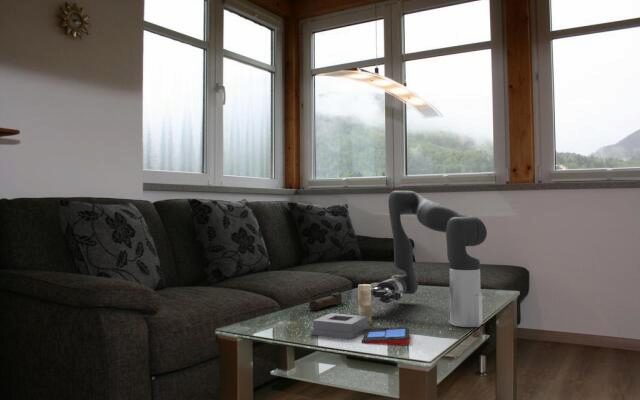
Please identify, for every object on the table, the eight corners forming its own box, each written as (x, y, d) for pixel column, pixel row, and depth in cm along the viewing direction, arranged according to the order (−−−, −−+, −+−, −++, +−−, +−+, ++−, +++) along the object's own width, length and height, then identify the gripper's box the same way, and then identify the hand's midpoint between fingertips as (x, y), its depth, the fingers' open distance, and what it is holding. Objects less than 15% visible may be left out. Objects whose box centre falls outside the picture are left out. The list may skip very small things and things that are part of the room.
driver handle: (373, 322, 166) (372, 284, 166) (368, 325, 163) (368, 286, 163) (361, 321, 168) (361, 283, 168) (356, 323, 164) (356, 285, 165)
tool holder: (369, 329, 157) (369, 315, 157) (352, 339, 145) (352, 324, 145) (330, 325, 162) (330, 312, 162) (311, 334, 151) (310, 320, 151)
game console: (366, 332, 154) (366, 325, 155) (409, 334, 152) (409, 326, 152) (361, 345, 140) (361, 336, 140) (409, 346, 138) (409, 338, 138)
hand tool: (317, 312, 185) (317, 299, 186) (308, 310, 188) (308, 297, 188) (347, 304, 200) (347, 292, 201) (339, 303, 203) (339, 291, 203)
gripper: (370, 278, 190) (352, 284, 175) (408, 280, 183) (393, 287, 169) (370, 299, 189) (353, 307, 175) (408, 302, 183) (393, 310, 169)
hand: (372, 297), depth 172 cm, fingers open, 8 cm apart
